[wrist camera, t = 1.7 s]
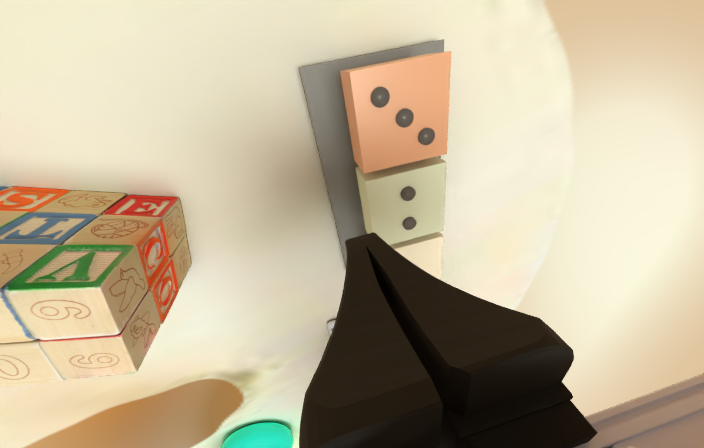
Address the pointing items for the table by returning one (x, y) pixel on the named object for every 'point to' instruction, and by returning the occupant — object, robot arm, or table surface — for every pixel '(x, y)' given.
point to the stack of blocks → (84, 280)
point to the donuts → (260, 436)
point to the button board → (344, 131)
